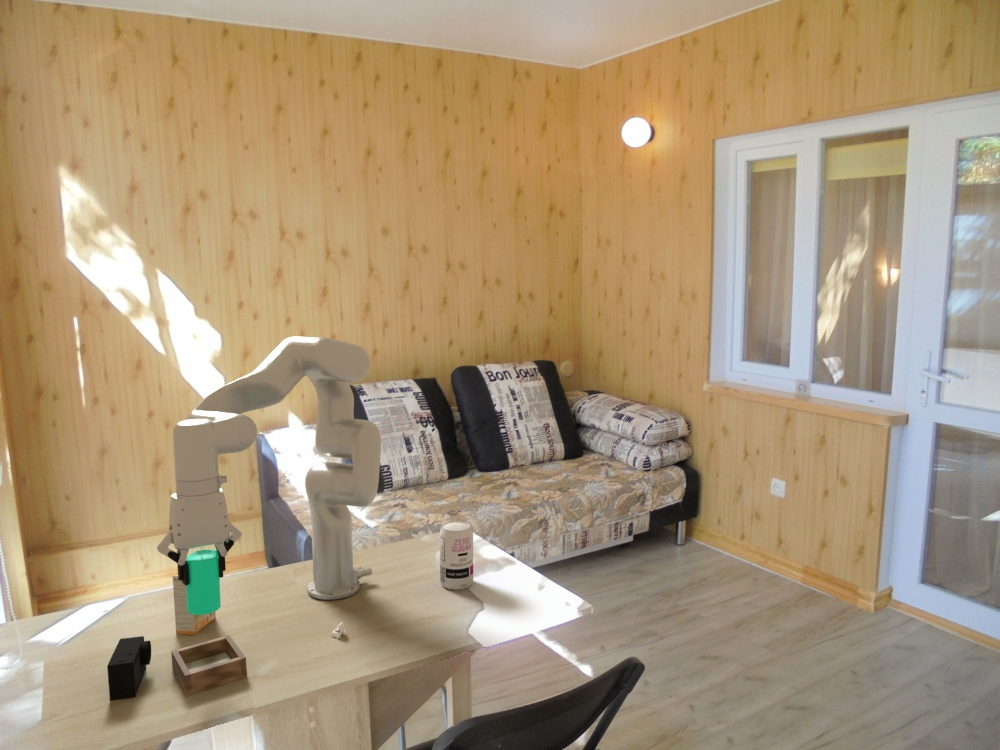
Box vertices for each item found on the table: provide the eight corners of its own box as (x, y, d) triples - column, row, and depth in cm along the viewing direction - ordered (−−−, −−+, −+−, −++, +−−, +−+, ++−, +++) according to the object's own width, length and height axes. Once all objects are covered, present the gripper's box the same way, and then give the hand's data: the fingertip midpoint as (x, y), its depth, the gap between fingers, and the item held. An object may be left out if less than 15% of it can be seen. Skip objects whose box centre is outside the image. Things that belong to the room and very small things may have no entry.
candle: (212, 598, 145) (210, 539, 144) (226, 608, 141) (223, 547, 140) (181, 607, 141) (179, 546, 140) (194, 618, 137) (192, 555, 135)
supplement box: (195, 636, 158) (191, 577, 156) (175, 633, 159) (171, 575, 157) (217, 618, 166) (214, 562, 165) (198, 616, 167) (194, 561, 165)
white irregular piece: (340, 641, 157) (340, 627, 156) (329, 639, 158) (329, 625, 157) (347, 634, 160) (347, 620, 159) (337, 632, 160) (336, 619, 160)
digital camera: (142, 697, 136) (140, 661, 135) (109, 701, 134) (106, 665, 133) (153, 668, 146) (150, 634, 145) (122, 672, 144) (120, 638, 143)
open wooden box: (230, 653, 151) (229, 634, 150) (247, 677, 142) (246, 657, 142) (172, 670, 145) (171, 651, 144) (186, 696, 136) (185, 675, 135)
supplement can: (454, 574, 190) (453, 518, 188) (480, 582, 185) (479, 524, 183) (433, 585, 183) (432, 527, 181) (459, 594, 179) (458, 534, 177)
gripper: (238, 474, 146) (242, 563, 148) (143, 488, 136) (149, 583, 138) (250, 483, 140) (254, 575, 142) (152, 498, 130) (157, 597, 132)
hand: (202, 578), depth 140 cm, fingers closed on candle, 5 cm apart
